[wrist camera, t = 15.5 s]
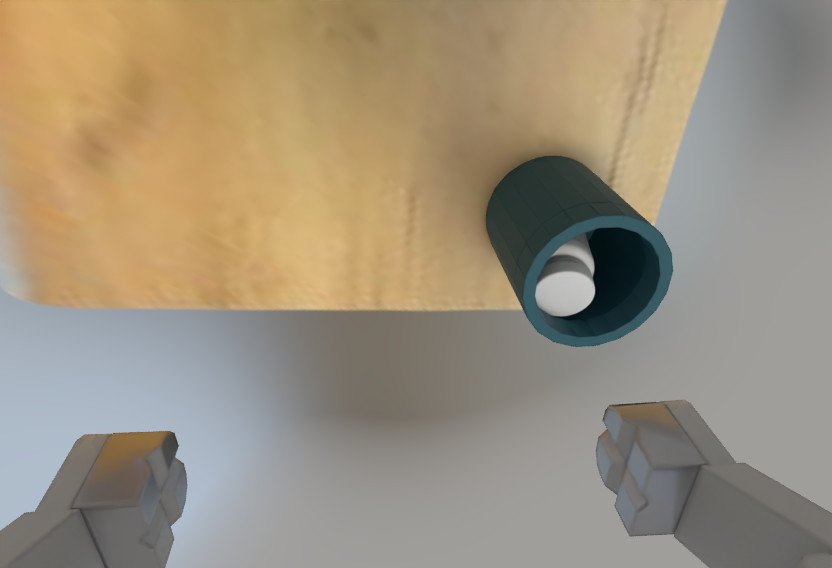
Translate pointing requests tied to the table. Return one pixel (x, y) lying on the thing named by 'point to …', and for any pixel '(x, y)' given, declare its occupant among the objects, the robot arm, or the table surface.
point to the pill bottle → (567, 279)
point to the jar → (607, 237)
